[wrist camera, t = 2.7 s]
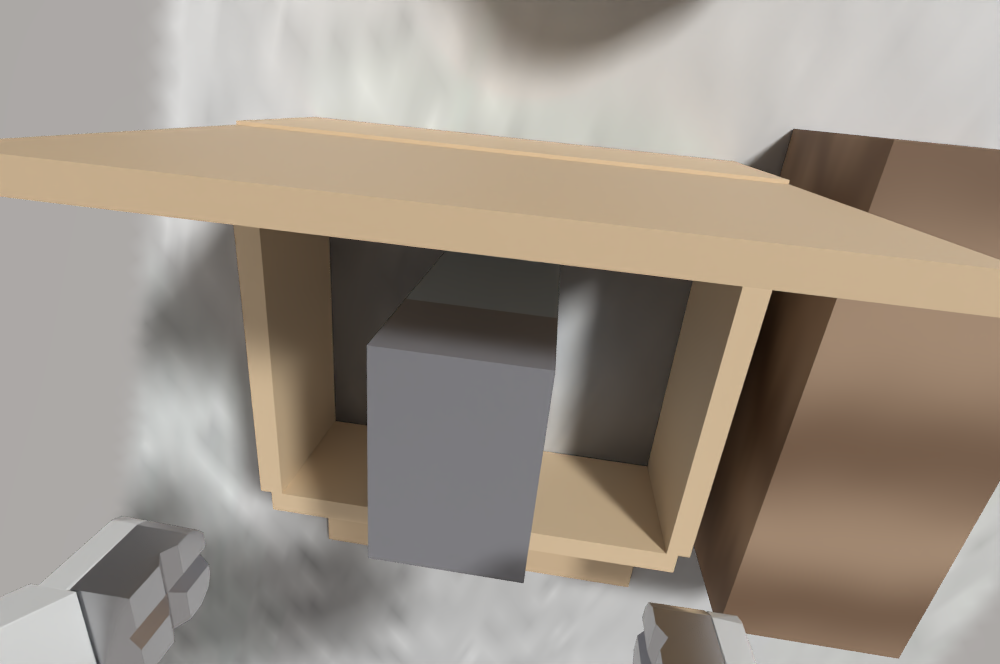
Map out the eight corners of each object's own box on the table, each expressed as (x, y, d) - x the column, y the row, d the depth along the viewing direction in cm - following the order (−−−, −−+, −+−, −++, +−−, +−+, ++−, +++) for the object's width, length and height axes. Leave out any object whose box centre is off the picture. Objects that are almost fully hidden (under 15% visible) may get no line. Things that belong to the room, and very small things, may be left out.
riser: (793, 128, 18) (894, 139, 12) (985, 148, 17) (1177, 167, 12) (683, 509, 24) (717, 628, 19) (821, 530, 24) (898, 658, 18)
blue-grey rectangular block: (456, 238, 21) (366, 345, 11) (560, 250, 20) (555, 370, 11) (447, 376, 23) (367, 558, 14) (541, 389, 23) (523, 582, 14)
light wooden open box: (303, 116, 19) (-114, 133, 8) (746, 162, 18) (1076, 269, 6) (323, 533, 27) (134, 867, 15) (635, 583, 26) (693, 984, 14)
